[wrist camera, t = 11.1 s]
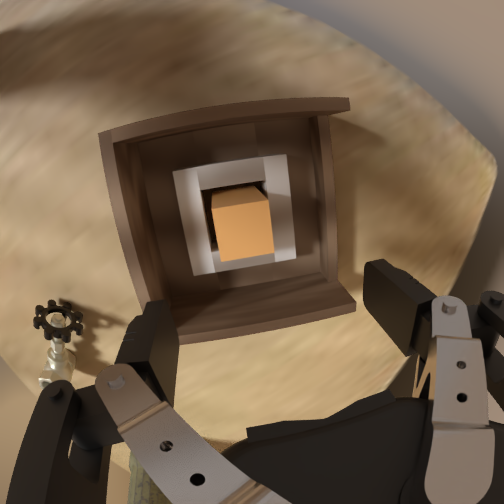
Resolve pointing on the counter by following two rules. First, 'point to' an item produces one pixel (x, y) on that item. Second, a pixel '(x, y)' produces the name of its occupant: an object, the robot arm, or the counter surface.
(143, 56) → the counter surface
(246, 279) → the inlet box
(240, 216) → the orange rectangular block
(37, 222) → the counter surface
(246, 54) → the counter surface
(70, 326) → the valve
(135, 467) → the thermos
